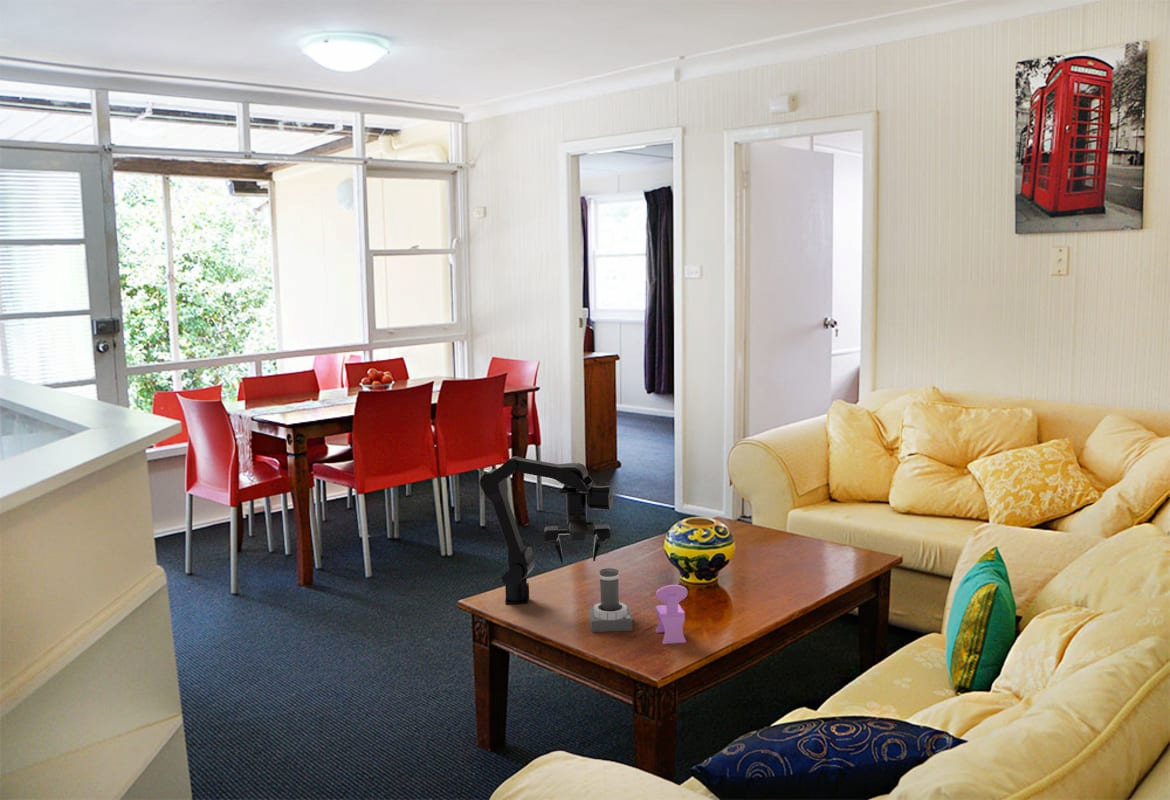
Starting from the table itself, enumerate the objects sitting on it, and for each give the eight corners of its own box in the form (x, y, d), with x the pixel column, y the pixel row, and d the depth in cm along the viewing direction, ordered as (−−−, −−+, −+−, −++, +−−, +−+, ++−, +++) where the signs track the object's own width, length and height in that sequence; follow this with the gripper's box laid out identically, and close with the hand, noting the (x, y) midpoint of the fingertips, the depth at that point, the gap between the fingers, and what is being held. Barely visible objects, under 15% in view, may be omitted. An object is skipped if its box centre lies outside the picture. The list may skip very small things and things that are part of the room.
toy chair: (682, 629, 254) (681, 575, 252) (690, 642, 246) (689, 586, 244) (651, 631, 253) (651, 577, 251) (658, 644, 245) (658, 588, 243)
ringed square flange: (591, 632, 254) (591, 614, 253) (589, 619, 263) (589, 601, 263) (632, 630, 254) (632, 612, 254) (629, 617, 264) (628, 600, 263)
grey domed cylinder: (597, 615, 258) (595, 572, 256) (607, 609, 262) (605, 567, 260) (613, 618, 255) (612, 575, 253) (623, 612, 259) (622, 569, 258)
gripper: (543, 516, 262) (545, 571, 264) (611, 514, 263) (612, 569, 265) (543, 506, 273) (545, 559, 275) (608, 504, 274) (609, 557, 276)
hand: (577, 561), depth 273 cm, fingers open, 9 cm apart
